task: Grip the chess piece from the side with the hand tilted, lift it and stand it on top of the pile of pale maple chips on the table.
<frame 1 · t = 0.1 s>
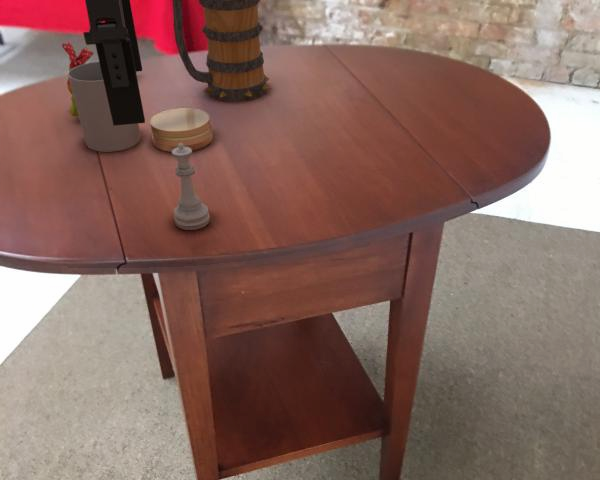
hand: (129, 95, 60), 19 cm above the table, tool pointing down, fingers open, 13 cm apart
chess piece: (192, 223, 80), on the table
mug: (226, 93, 112), on the table
cup: (113, 141, 98), on the table
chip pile: (183, 139, 98), on the table
die: (129, 79, 118), on the table
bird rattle: (85, 114, 106), on the table
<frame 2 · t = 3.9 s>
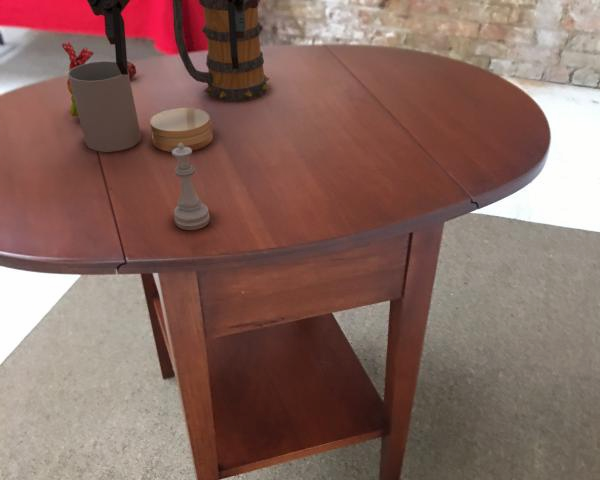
hand: (178, 66, 76), 15 cm above the table, tool tilted 45°, fingers open, 13 cm apart
nothing on the table moved.
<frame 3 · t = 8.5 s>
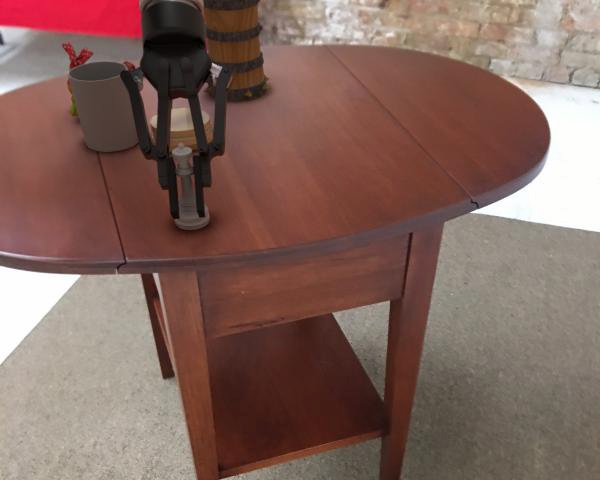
hand: (188, 214, 75), 3 cm above the table, tool tilted 45°, fingers closed on chess piece, 2 cm apart
chess piece: (192, 223, 80), on the table, touching gripper
everything else where it was.
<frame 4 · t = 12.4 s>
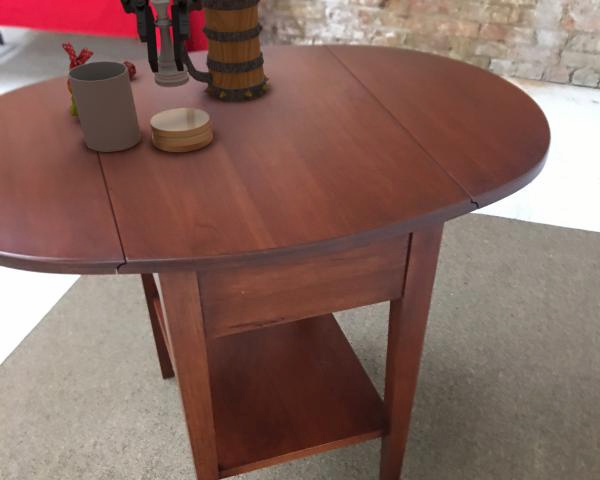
hand: (166, 65, 76), 15 cm above the table, tool tilted 45°, fingers closed on chess piece, 2 cm apart
chess piece: (172, 83, 82), point 12 cm above the table, touching gripper
everything else where it was.
when the fingers open (6 cm above the table, at t = 16.5 s): chess piece stays where it is, resting on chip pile.
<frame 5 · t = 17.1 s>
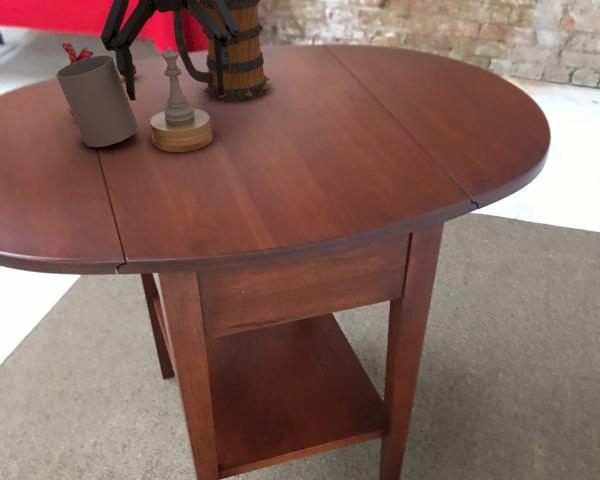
hand: (176, 93, 90), 8 cm above the table, tool tilted 45°, fingers open, 12 cm apart
chess piece: (180, 121, 96), point 3 cm above the table, touching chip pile
cup: (112, 136, 98), point 1 cm above the table, touching gripper
everything else where it was.
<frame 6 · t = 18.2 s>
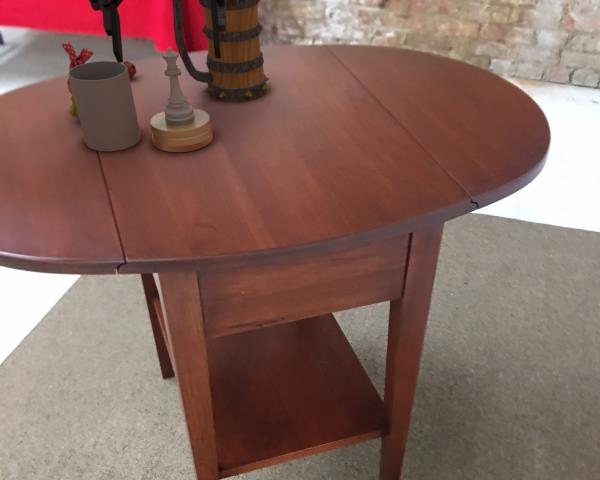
hand: (168, 55, 87), 13 cm above the table, tool tilted 45°, fingers open, 13 cm apart
cup: (113, 141, 98), on the table
everything else where it was.
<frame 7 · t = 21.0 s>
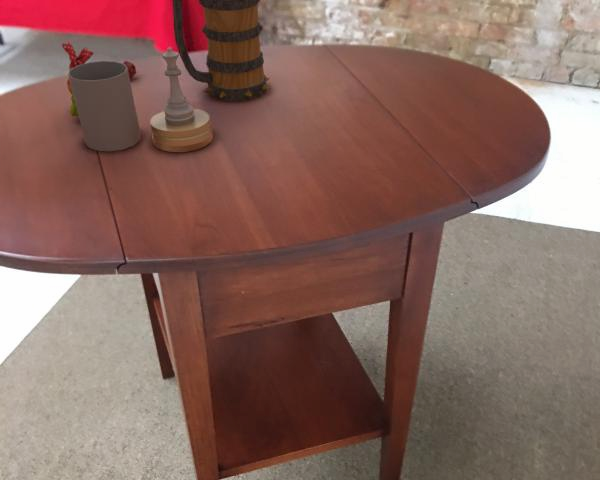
nothing on the table moved.
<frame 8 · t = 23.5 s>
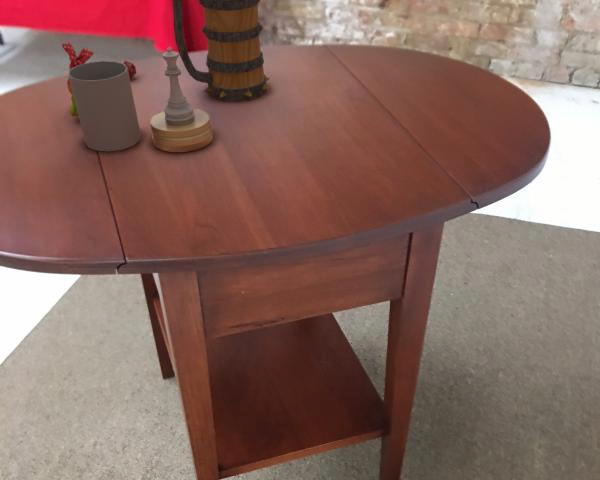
nothing on the table moved.
at the end: chess piece 0.0 cm off-centre on the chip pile, point 2.8 cm above the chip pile's base; chess piece tilted 0°; the gripper is holding nothing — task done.
